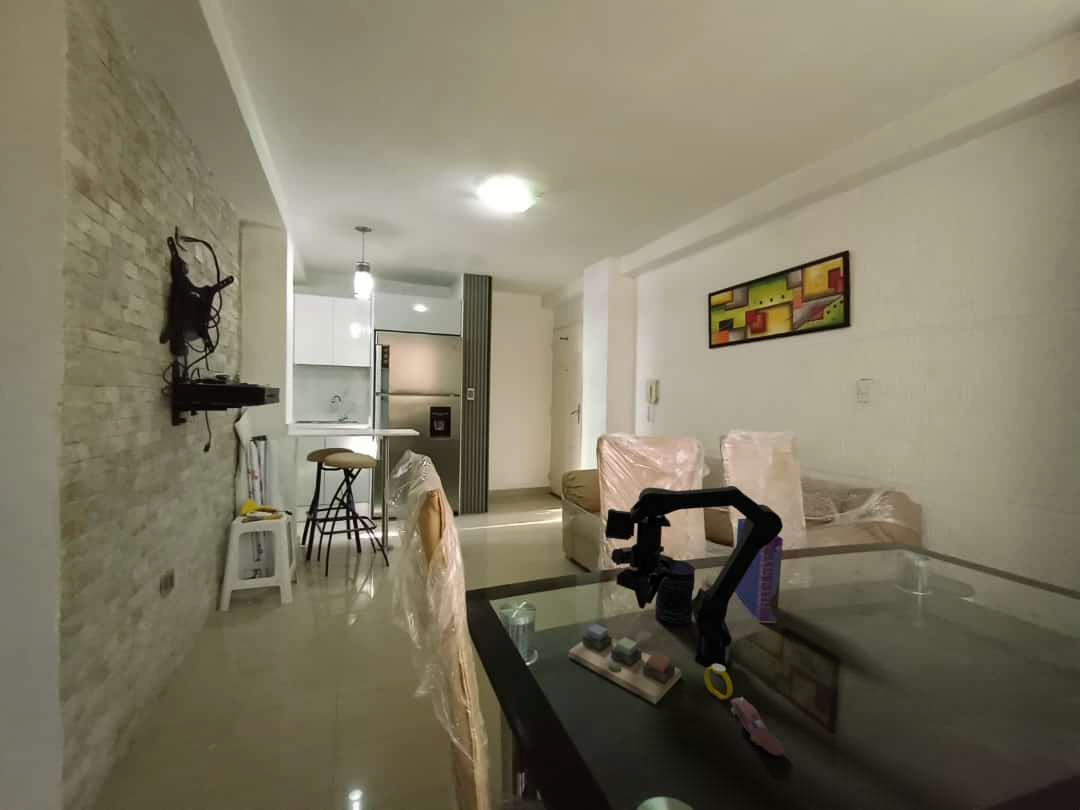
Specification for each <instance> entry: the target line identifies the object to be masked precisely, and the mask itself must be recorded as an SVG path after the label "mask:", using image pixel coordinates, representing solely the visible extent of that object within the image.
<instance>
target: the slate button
mask: <svg viewBox="0 0 1080 810" xmlns="http://www.w3.org/2000/svg"><path fill="white" fill-rule="evenodd" d="M608 630H609V629H608V628H606V627H604V626H601V625H599V624H597V623H594V625H591V626H590V627H589V628H587V632H588V637H590V638H592V639H595V640H597V641H599V642H601V641H602V640H604V639H605V638H606V637H607V634H609V631H608Z"/></svg>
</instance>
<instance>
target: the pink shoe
mask: <svg viewBox="0 0 1080 810" xmlns="http://www.w3.org/2000/svg"><path fill="white" fill-rule="evenodd" d="M730 703H731V705H732V707H731V708H730V710H731V713H732V714H733V715H734V716H736V715H737V716H738V718H739V720H740V722H741V724H742V726H743V727H744V729H745V730H746V732H747V733H749V735H750V740H751V742H753V743H754V744H755V743H756V744H755V745H756V746H757V747H758V746H760V747H762V749H764V750H765V751H767V752H768V753H769V754H771V755H773V756H775V757H776V756H777V757H778V756H779V757H780V756H783V754H784V751H785V748H784V746H783V744H782V743H781V741H779V740H778V739H777V738H776V737H774V736H773V735H772V734H771V733H770V731H769V730H768V728H767V726H766V724H765V722H764V721H763V720H762V719H761V716H760V714H759V712H758V710H757V708H755V706H754V705H752V704H751V703H749V701H747V700H746V699H745V698H744V697H743V696H741V697H735V698H733V699H731V700H730Z"/></svg>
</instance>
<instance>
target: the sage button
mask: <svg viewBox="0 0 1080 810" xmlns="http://www.w3.org/2000/svg"><path fill="white" fill-rule="evenodd" d="M637 647H638V642H636V641H635V640H632V639H629V638H627V637H625V636H624V637H622V638H621V639H620V640H619V642H617V648H616V650H617V651H619V652H621V653H623V654H625V655H627V656H629V657H631V656H632V655H633V654H634V653H635V652H636V651H637Z"/></svg>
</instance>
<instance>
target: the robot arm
mask: <svg viewBox="0 0 1080 810" xmlns="http://www.w3.org/2000/svg"><path fill="white" fill-rule="evenodd" d="M721 507H722V508H723V507H733V508H734V509H736V510H737V511H738V512H739V513H741V514H742V515H743V516H744V519H745V522H744V526H743V532H742V536H741V539H740V540H739V542H738V544H737V543H736V544H737V545H735V547H734V549H733V551H732V552H731V554H730V555H729V557H728V559H727V560H726V561H725V564H724V566H723V567H722V568H721V570H720V572H719V574H718V576H717V577H716V579H715V580H714V583H713V584H712V585H711V586H710V587H709V588H708V589H706V590H704V589H703V588H701V587H700V588H699V589H698V590H697V594H696V596H694V598H692V603H693V606H692V611H693V614H692V615H693V617H694V622H695V625H696V627H697V629H698V630H699V632H698V635H697V636H696V641H695V654H696V656H695V657H694V661H695V662H697V663H699V664H701V665H703V666H706V667H707V668H708V667H710V666H712V665H713V664H721V665H723V666H724V667H725V668H727V667H728V666H729V665H730V663H731V662H732V658H731V657H730V647H731V642H732V641H733V638H732V635H731V633H730V630H729V627H728V624H727V623H726V617H727V612H728V607H729V602H730V600H731V598H732V597H733V595H734V594H733V593H734V592H735V590H736V588H737V587H738V585H739V583H740V582H741V580H742V579H743V577H744V575H745V574H746V572H747V570H748V569H749V567H750V565H751V564H752V562H753V560H754V559H755V557H756V555H757V554H758V552H759V551H760V550H761V549H762V548H763V547H765V546H766V545H768V544H769V543H771V542H772V541H773V540H774V539H775V537H776V536H777V535H778V536H779V534H780V533H781V532H782V530H783V526H784V524H783V522H782V518H781V517H780V516H779V515H778V514H777V513H776V512H775V511H774V510H773V509H771V508H770V507H769V506H768V505H767V504H766V505H765V504H758V503H757V502H755V501H754V500H753V499H752V498H750V497H749V496H747V495H746V494H745V493H743V491H741V490H740V489H739V488H738V486H735V485H728V486H725V487H710V488H699V489H698V488H697V489H685V490H672V489H666V488H661V487H660V488H658V487H646V488H644V489H642V490H641V492H640V493H639V495H638V500H637V502H635V504H634V505H632V507H631V508H630V510H629V511H625V510H617V509H612V508H608V509H607V518H606V523H605V524H606V525H605V539H606V538H607V539H614V540H623V541H630V540H631V539H632V537H635V524H637V526H636V542H635V544H633V545H632V546H629V547H622V548H621V547H619V548H614V549H612V552H611V557H610V559H611V560H612V562H613V564H615V565H616V566H621V565H628V564H629V567H630V568H629V567H628V568H625V569H624V570H622V571H620V572H618V574H616V577H615V578H616V580H615V581H616V582H615V583H616V585H618V586H619V587H620V586H621V587H623V588H626V589H628V590H631V591H634V594H635V597H636V600H637V604H638V608H640V609H642V610H644V609H645V607H646V605H647V604H648V605H651V604H652V602H653V600H655V599H654V598H656V596H657V591H658V590H659V588H660V586H661V585H662V583H663V581H664V580H665V578H666V577H667V575H666V574H663V573H662V570H661V569H662V568H663V566H665V567H667V571H668V572H671V571H673V570H674V569H675V561H674V560H675V559H674V558H673V557H671V556H669V555H665V554H661V553H663V552H664V551H665V546H663V545H662V532H663V527H665V528H666V527H667V528H670V527H671V526H672V525H671V521H670V520H669V519H668V518H667V517H666V515H668V514H670V513H674V512H676V511H679V510H690V509H691V510H692V509H704V508H705V509H707V508H721ZM631 568H633V569H631ZM634 568H635V570H634ZM730 661H731V662H730ZM729 662H730V663H729ZM727 665H728V666H727Z"/></svg>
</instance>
